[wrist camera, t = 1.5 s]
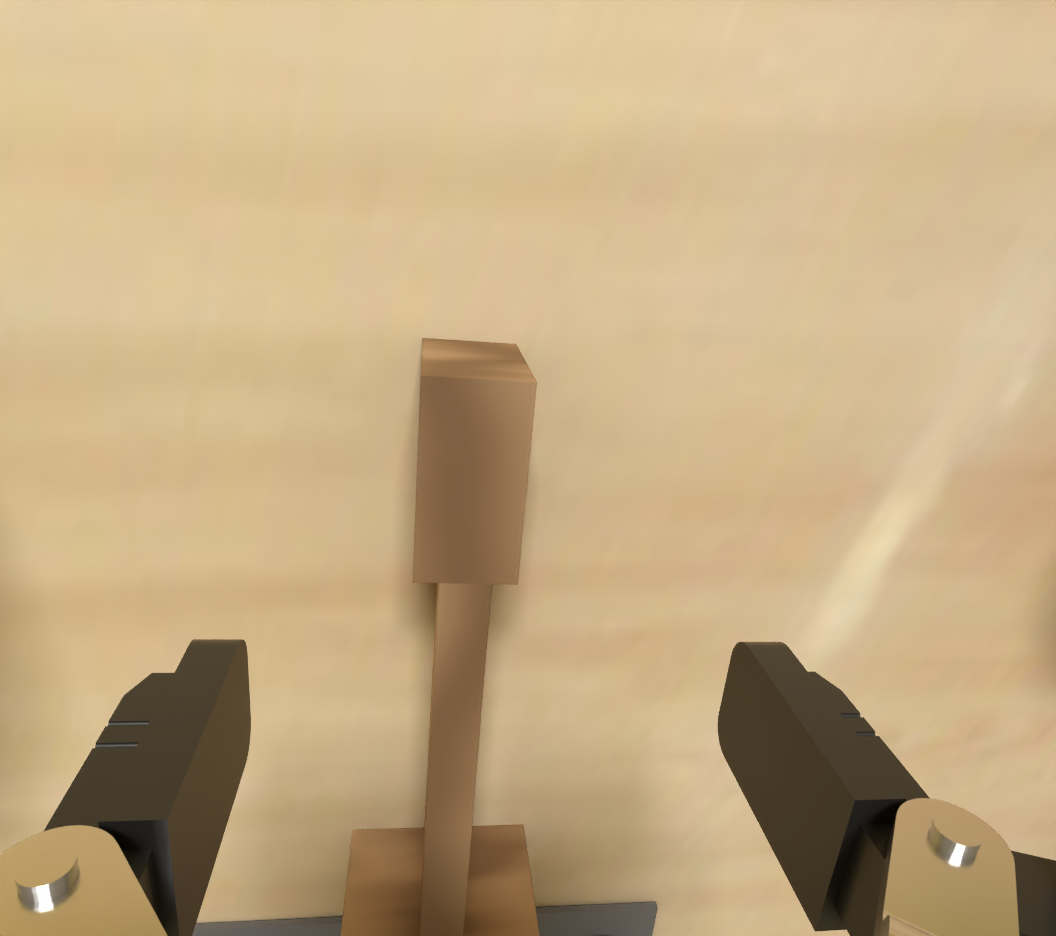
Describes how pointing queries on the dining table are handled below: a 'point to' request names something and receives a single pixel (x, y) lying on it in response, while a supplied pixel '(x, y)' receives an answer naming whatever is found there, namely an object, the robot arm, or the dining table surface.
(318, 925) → the spacer mat
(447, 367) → the wooden mallet
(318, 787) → the dining table surface
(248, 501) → the dining table surface
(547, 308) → the dining table surface
